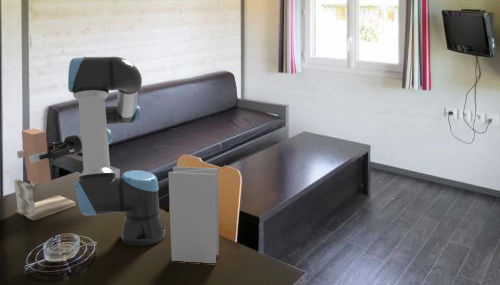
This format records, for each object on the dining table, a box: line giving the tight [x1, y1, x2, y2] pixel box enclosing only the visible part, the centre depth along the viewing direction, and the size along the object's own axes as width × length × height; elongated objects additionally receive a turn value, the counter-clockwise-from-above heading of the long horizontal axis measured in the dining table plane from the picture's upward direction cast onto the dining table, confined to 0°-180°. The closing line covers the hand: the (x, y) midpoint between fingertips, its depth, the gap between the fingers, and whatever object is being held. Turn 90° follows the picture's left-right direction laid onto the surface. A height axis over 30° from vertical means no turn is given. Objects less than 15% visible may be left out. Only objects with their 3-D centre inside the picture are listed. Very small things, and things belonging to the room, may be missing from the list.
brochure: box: [168, 166, 220, 264], centre depth 148 cm, size 14×6×30 cm, turn 84°
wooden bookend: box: [13, 178, 77, 221], centre depth 186 cm, size 12×18×14 cm, turn 144°
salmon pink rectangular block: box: [21, 127, 52, 186], centre depth 181 cm, size 8×5×20 cm, turn 54°
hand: (23, 157), depth 177 cm, fingers closed on salmon pink rectangular block, 8 cm apart
